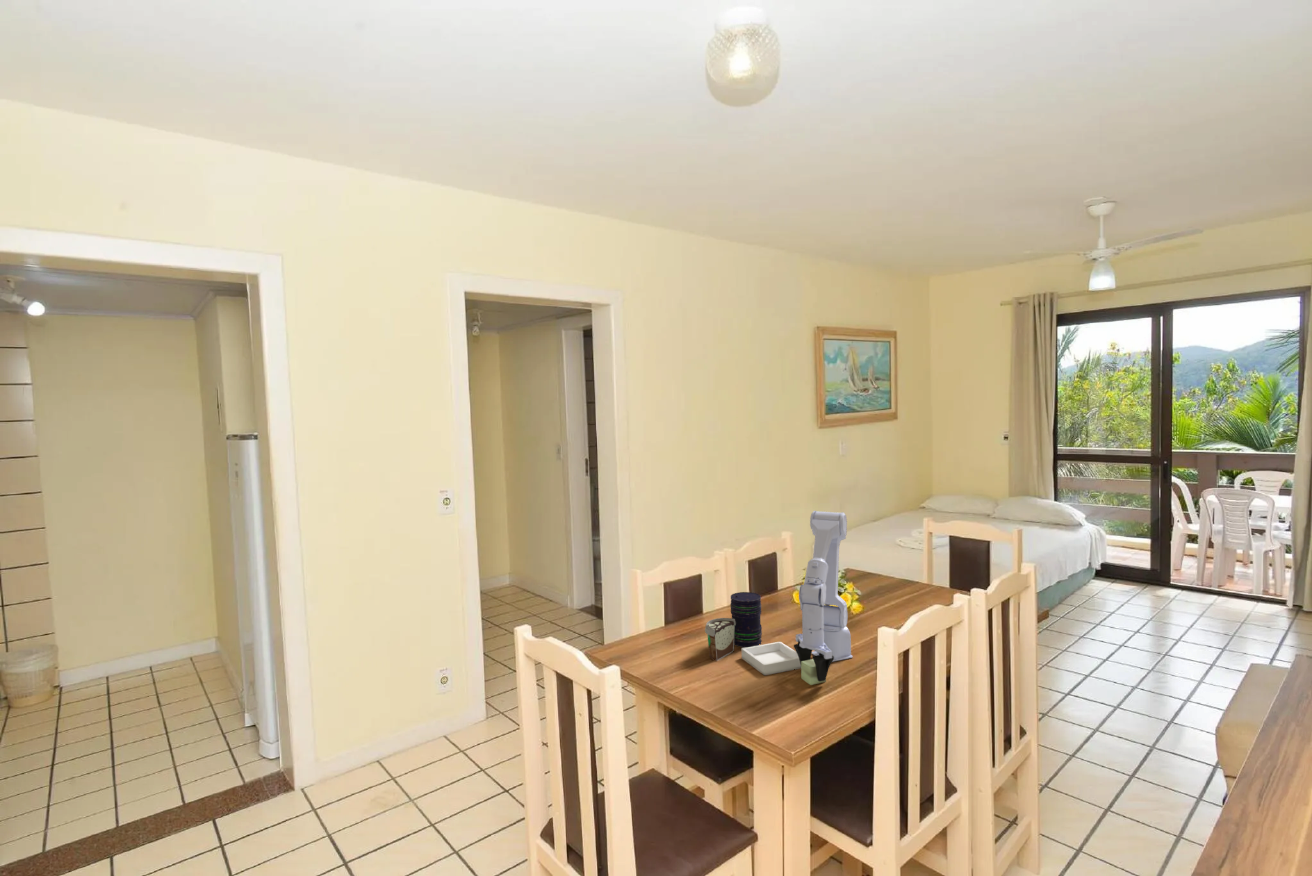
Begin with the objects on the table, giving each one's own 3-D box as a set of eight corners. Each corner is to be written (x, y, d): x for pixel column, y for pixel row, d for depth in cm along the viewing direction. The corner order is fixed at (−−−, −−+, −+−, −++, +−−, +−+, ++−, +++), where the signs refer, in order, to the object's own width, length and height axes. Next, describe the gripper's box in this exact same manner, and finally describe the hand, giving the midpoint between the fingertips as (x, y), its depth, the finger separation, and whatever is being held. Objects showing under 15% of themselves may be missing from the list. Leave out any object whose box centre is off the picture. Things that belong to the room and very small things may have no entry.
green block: (816, 675, 183) (816, 658, 183) (826, 682, 179) (825, 664, 179) (801, 678, 181) (801, 661, 181) (810, 685, 177) (810, 667, 177)
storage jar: (761, 636, 214) (760, 592, 213) (763, 647, 204) (762, 601, 204) (730, 636, 215) (729, 591, 214) (731, 647, 205) (730, 601, 205)
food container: (719, 645, 207) (719, 614, 207) (736, 649, 203) (735, 618, 203) (697, 658, 198) (696, 625, 197) (714, 662, 194) (713, 629, 193)
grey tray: (780, 651, 201) (780, 641, 201) (805, 667, 189) (805, 657, 189) (741, 658, 197) (741, 648, 196) (764, 675, 184) (764, 665, 184)
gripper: (786, 621, 185) (786, 667, 185) (816, 637, 171) (816, 688, 172) (807, 617, 187) (807, 663, 188) (838, 633, 173) (838, 683, 174)
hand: (813, 675), depth 180 cm, fingers open, 7 cm apart
